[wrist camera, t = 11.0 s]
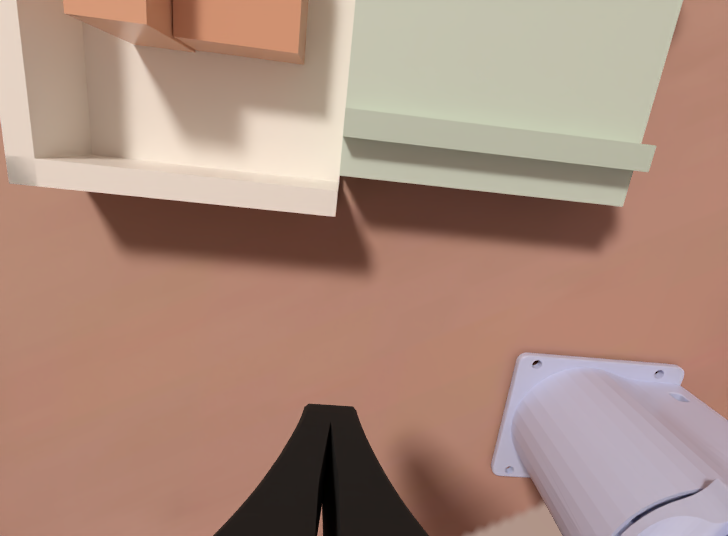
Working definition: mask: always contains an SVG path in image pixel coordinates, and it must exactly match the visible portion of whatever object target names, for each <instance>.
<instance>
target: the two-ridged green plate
mask: <svg viewBox="0 0 728 536" xmlns="http://www.w3.org/2000/svg"><path fill="white" fill-rule="evenodd" d="M682 2H683V0H355V11H354V22H353V33H352V44H351V54H350V65H349V76H348V87H347V98H346V108H345V118H344V129H343V141H342V152H341V163H340V173H339V176H348V177H357V178H366V179H376V180H385V181H394V182H403V183H412V184H421V185H430V186H439V187H448V188H457V189H466V190H475V191H484V192H494V193H503V194H512V195H521V196H530V197H539V198H548V199H557V200H566V201H575V202H584V203H593V204H603V205H612V206H621V207H623V204H624V201H625V197H626V194H627V190H628V187H629V183H630V180H631V177H632V173H633V171H642V172H649V169H650V166H651V162H652V159H653V156H654V152H655V149H656V146H655V145H647V144H641V142H642V139H643V136H644V132H645V129H646V125H647V122H648V119H649V115H650V112H651V108H652V105H653V101H654V98H655V95H656V91H657V88H658V84H659V81H660V78H661V74H662V71H663V67H664V64H665V60H666V57H667V54H668V50H669V47H670V43H671V40H672V37H673V33H674V30H675V26H676V23H677V19H678V16H679V13H680V9H681V6H682Z"/></svg>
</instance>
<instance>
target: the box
mask: <svg viewBox="0 0 728 536" xmlns="http://www.w3.org/2000/svg"><path fill="white" fill-rule="evenodd" d="M354 11H355V0H309V5H308V19H307V34H306V49H305V64H304V65H300V64H293V63H286V62H278V61H271V60H263V59H256V58H248V57H241V56H233V55H226V54H218V53H211V52H203V51H197V50H195V53H194V52H186V51H178V50H171V49H163V48H155V47H148V46H140V45H133V44H131V43H129V42H127V41H125V40H122V39H120V38H118V37H116V36H113V35H111V34H109V33H107V32H104V31H102V30H100V29H98V28H96V27H93V26H91V25H89V24H87V23H84V22H82V21H80V20H78V19H75V18H73V17H71V16H69V15H67V14H64V6H63V0H0V120H1V127H2V134H3V142H4V149H5V157H6V164H7V172H8V179H9V183H11V184H20V185H30V186H40V187H50V188H59V189H69V190H79V191H89V192H98V193H108V194H118V195H127V196H137V197H147V198H157V199H166V200H176V201H186V202H196V203H205V204H215V205H225V206H235V207H244V208H254V209H264V210H274V211H283V212H293V213H303V214H312V215H322V216H332V217H335V216H336V208H337V199H338V188H339V177H340V176H339V173H340V163H341V152H342V141H343V129H344V118H345V108H346V98H347V87H348V76H349V65H350V54H351V44H352V33H353V22H354Z"/></svg>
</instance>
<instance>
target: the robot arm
mask: <svg viewBox="0 0 728 536" xmlns="http://www.w3.org/2000/svg"><path fill="white" fill-rule="evenodd" d="M537 360H539V361H538V363H537V364H536V365H532V364H533V362H534V361H537ZM658 370H659V371H658ZM657 371H658V372H657ZM656 372H657V373H656ZM655 373H656V374H655ZM683 377H684V370H683V369H682V368H680V367H679V366H677V365H674V364H662V363H650V362H637V361H625V360H613V359H600V358H588V357H576V356H564V355H551V354H539V353H523V354H521V355H519V356H518V358H517V360H516V364H515V368H514V372H513V376H512V381H511V385H510V389H509V393H508V397H507V401H506V405H505V409H504V413H503V417H502V421H501V426H500V430H499V434H498V438H497V442H496V446H495V450H494V454H493V458H492V462H491V468H492V471H493V473H494V474H495V475H498V476H512V477H530V478H531V479H532V481H533V482H534V484H535V486H536V488H537V490H538V492H539V493H540V495H541V497H542V499H543V501H544V502H545V504H546V506H547V508H548V510H549V512H550V513H551V515H552V517H553V519H554V521H555V523H556V524H557V526H558V528H559V530H560V531H561V533H562V535H563V536H728V420H727V419H725V418H724V417H722V416H721V415H720V414H718V413H717V412H716V411H714V410H713V409H712V408H710V407H709V406H708V405H706V404H705V403H703V402H702V401H701V400H699V399H698V398H697V397H695V396H694V395H693V394H691V393H690V392H688V391H687V390H686V389H684V388H683V387H682V386H680V385H681V382H682V380H683ZM509 466H511V467H509ZM507 467H509V468H507ZM506 468H507V469H506ZM321 507H322V515H323V536H429V535H428V534H427V533H426V532H425V530H424V529H423V528H422V526H421V525H420V524H419V523H418V521H417V520H416V519H415V518H414V516H413V515H412V513H411V512H410V511H409V509H408V508H407V507H406V505H405V504H404V502H403V501H402V499H401V498H400V497H399V495H398V494H397V492H396V490H395V489H394V487H393V486H392V484H391V482H390V481H389V479H388V478H387V476H386V474H385V473H384V471H383V469H382V467H381V465H380V464H379V462H378V460H377V458H376V456H375V454H374V452H373V450H372V448H371V446H370V444H369V442H368V440H367V438H366V436H365V433H364V431H363V429H362V426H361V424H360V421H359V418H358V415H357V412H356V410H355V409H354V407H351V406H335V405H320V404H308V405H307V406H305V407H304V410H303V413H302V416H301V418H300V420H299V423H298V425H297V427H296V429H295V430H294V432H293V434H292V436H291V438H290V439H289V441H288V443H287V444H286V446H285V448H284V449H283V451H282V453H281V454H280V456H279V457H278V459H277V460H276V462H275V463H274V464H273V466H272V467H271V469H270V470H269V471H268V473H267V474H266V476H265V477H264V478H263V480H262V481H261V482H260V484H259V485H258V486H257V488H256V489H255V490H254V491H253V493H252V494H251V495H250V496H249V497H248V499H247V500H246V501H245V502H244V503H243V504H242V506H241V507H240V508H239V509H238V510H237V511H236V512H235V513H234V514H233V516H232V517H231V518H230V519H229V520H228V521H227V522H226V523H225V524H224V525H223V526H222V527H221V528H220V529H219V530H218V531H217V532H216V533H215V534H214V535H213V536H317V533H318V526H319V520H320V513H321Z"/></svg>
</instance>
